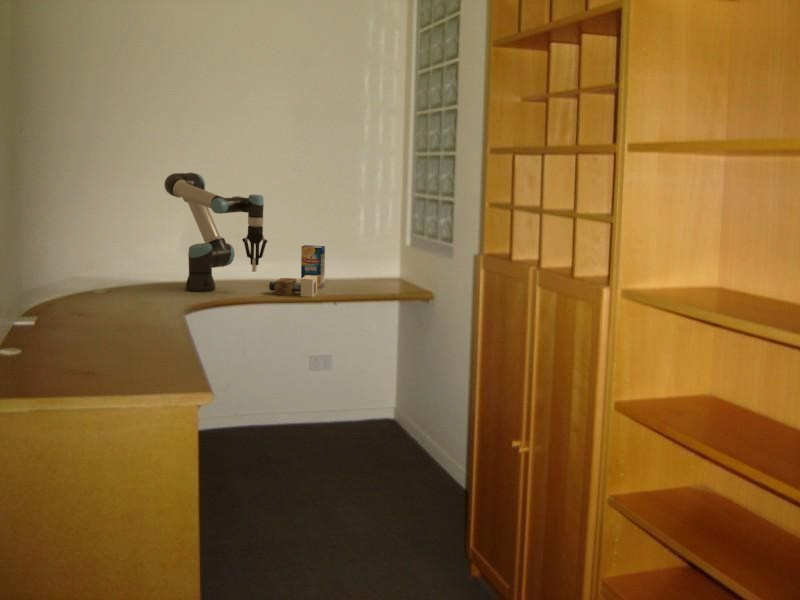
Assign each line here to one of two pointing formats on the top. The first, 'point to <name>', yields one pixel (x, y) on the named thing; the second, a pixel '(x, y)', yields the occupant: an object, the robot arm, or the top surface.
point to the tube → (295, 287)
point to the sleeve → (284, 287)
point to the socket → (308, 286)
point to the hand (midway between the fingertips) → (254, 271)
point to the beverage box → (313, 263)
